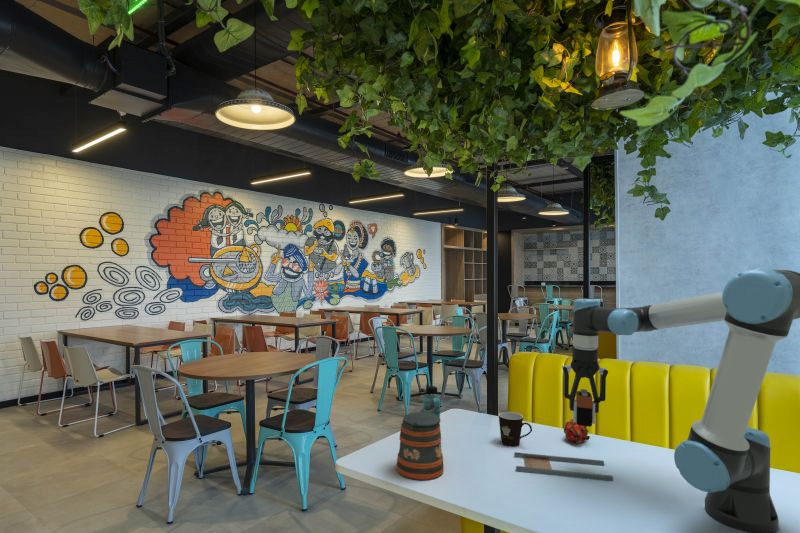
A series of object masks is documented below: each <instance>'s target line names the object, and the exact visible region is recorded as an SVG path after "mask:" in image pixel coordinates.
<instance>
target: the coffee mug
mask: <svg viewBox="0 0 800 533" xmlns="http://www.w3.org/2000/svg"><path fill="white" fill-rule="evenodd" d="M523 420H524V416H523V415H522V414H521V413H518V412H515V411H514V412H513V411H503V412H499V413H498V423H499V431H500V442H501V444H502V445H503V446H505V445H506V447H509V446H511V447H512V448H515V447H520V444H521V443H520V442H521V439H522V438H525V437H527V436H529V435H530V434H531V433H532V432H533V427H532V425H531V424H530V423H529V422H523ZM524 425H527V426H528V427H529V432H528V433H526V434H523V435H521V434H522V427H523V426H524ZM511 447H510V448H511Z"/></svg>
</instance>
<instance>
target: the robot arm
mask: <svg viewBox="0 0 800 533" xmlns="http://www.w3.org/2000/svg"><path fill="white" fill-rule="evenodd" d="M572 308H573V309H572V326H573V327H572V346H573V347H572V351H571V355H572V356H571V362H570V364H568V365H562V366H561V369H562V371H563V397H564V399H568V400H569V406H568V407H569V410H570V411H572V419H573V421H574V422H576V421H577V401H576V393H577V391H578V389H579V385H580V382H581V379H582V378H583V379H584V378H587V379H588V381H589V385H590V388H591V389H590V390H591V395H592V399H593V400H592V425H596V414H598V413H599V412H600V411H599V409H600V405H599V404H600V403H601V402H605V401H606V393H607V392H606V388H607V386H606V385H607V376H608V373H609V371H608V370H607V368H603V367H600V365H599V350H598V348H599V332H600V333H601V332H602V333H608V334H614V335H617V336H632V335H633V334H634V333H639V332H644V333H645V332H646V333H647V332H653V331H656V330H657V331H658V330H664V329H671V328H677V327H686V326H693V325H700V324H701V325H702V324H708V323H715V322H722V321H724V322H725V324H726V325H727V327H728V328H729V330H728V333H727V337H726V341H725V342H724V343H725V344H724V347H723V349H722V353H721V356H720V359H719V362H718V366H717V369H716V372H715V375H714V378H713V381H712V384H711V389H710V391H709V394H708V397H707V401H706V403H705V404H706V405H705V407H704V410H703V414H702V417H701V419H699V420H695V421H694V422H692V424H691V427H690V430H689V433H688V436H687V439H686V440H684V441H681V442H680V443H679V444H677V446H676V448H675V449H674V453H673V459H674V464H675V466H676V468H677V469H678V471H679V474H680V475H681V477H682V478H683V479H684V480H685V481H686V483H688V484H689V485H690V486H692V487H693V488H695V489H697V490H698V491H701V492H705V493H706V496H705V498H704V511H705V512H706V513H707V514H708V515H709V516H711V518H714V519H715V520H717V521H718V522H720V523H722V524H724V525H726V526H729V527H732V528H735V529H738V530H740V531H741V530H742V531H746V532H750V533H776V532H777V531H779V525H780V524H779V516H778V513H777V510H776V507H775V504H774V502H773V499H772V496H771V492H770V491H771V490H770V489H771V486H770V484H771V450H772V446H771V439H770V437H769V435H768V434H767V433H766V432H764V431H762V430H759V429H756V428H754V427H751V426H750V427H749V423H750V420H751V417H752V414H753V411H754V408H755V405H756V403H757V400H758V396H759V393H760V391H761V388H762V384H763V381H764V378H765V375H766V372H767V369H768V366H769V364H770V362H771V357H772V355H773V352H774V349H775V345H776V342H778V341H781V340H784V339H786V338H787V337H788V335H789V333H790V330H791V327H792V324H793V321H794V320H796V319H800V272H798V271H795V270H789V269H769V268H768V269H767V268H763V267H762V268H754V269H749V270H745V271H741V272H740V273H739V272H738V273H736V275H734V276H732V277H731V278H730V279H729V280H728V281H727V283H726V284H725V286H724V287H723V290H722V291H719V292H714V293H713V292H711V293H709V294H703V295H702V294H701V295H698V296H692V297H687V298H681V299H676V300H670V301H666V302H660V303H655V304H649V305H644V306H639V307H637V306H636V307H603V306H600V301H599V300H598V299H594V298H577V299H575V300H574V301H573V307H572ZM571 370H573V372H574V379H573V382H572V386H571V389H570V385H569V383H570V373H571ZM597 372H598V373H599V374H600V376H599V394H598V391H597V385H596V382H595V375H596V374H597ZM569 389H570V390H569ZM569 391H570V393H569Z"/></svg>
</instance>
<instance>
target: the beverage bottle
mask: <svg viewBox="0 0 800 533" xmlns="http://www.w3.org/2000/svg"><path fill="white" fill-rule="evenodd" d="M425 393H426V394H428V395H425V396H424V397H423V399H422V409H423V408H424V407H425V406H427V402H428V400H429V399H430V398H434V406H439V409H438V410H437V411H436V412H435V415H437V416H438V417H439V418H440V419H441V399H440V397H439V396H438V395H437V394H438V387H437V386H434V385H433V386H432V385H430V386H426V390H425ZM439 424H440V425H441V422H440V423H439Z"/></svg>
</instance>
